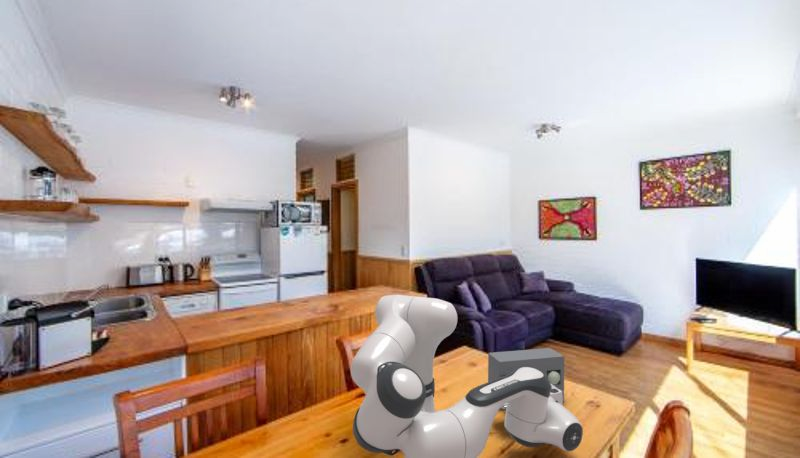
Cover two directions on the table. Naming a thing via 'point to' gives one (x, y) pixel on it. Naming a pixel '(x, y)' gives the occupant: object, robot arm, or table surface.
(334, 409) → the table surface
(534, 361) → the control box
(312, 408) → the table surface
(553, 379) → the sage button
